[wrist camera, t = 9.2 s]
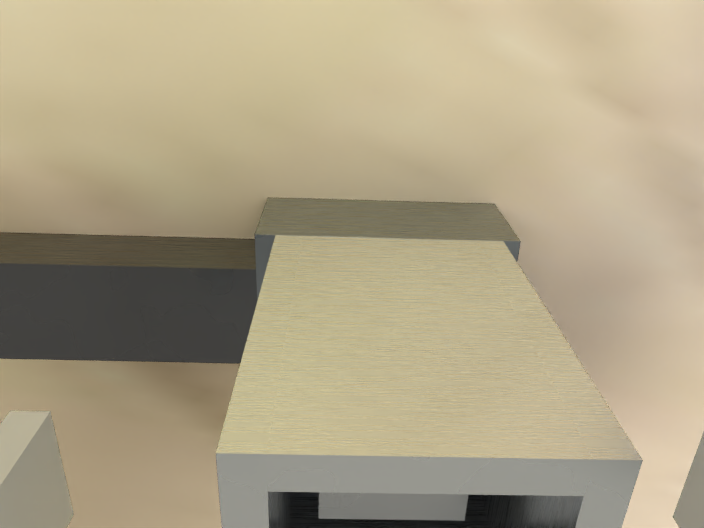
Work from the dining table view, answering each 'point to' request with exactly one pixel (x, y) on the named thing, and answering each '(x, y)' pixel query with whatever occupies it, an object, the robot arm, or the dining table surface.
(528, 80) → the dining table surface
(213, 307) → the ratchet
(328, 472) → the socket
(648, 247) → the dining table surface
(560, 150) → the dining table surface
